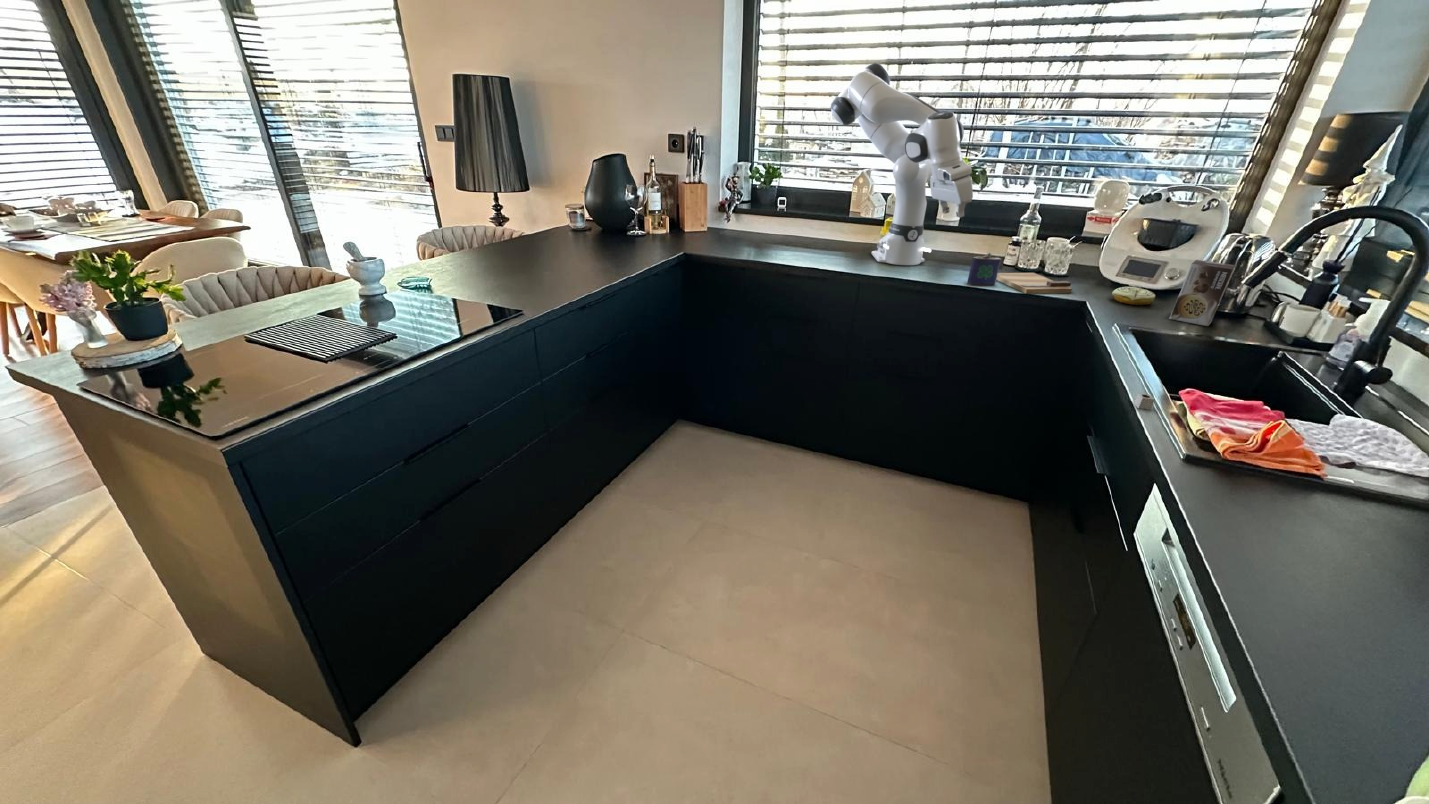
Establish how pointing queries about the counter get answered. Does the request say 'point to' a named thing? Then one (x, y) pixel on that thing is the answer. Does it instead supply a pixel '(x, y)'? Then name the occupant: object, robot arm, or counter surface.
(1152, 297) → the decorated donut
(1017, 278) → the cutting board
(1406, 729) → the counter surface
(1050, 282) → the knife
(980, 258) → the flask
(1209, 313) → the coffee box
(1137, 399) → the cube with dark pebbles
